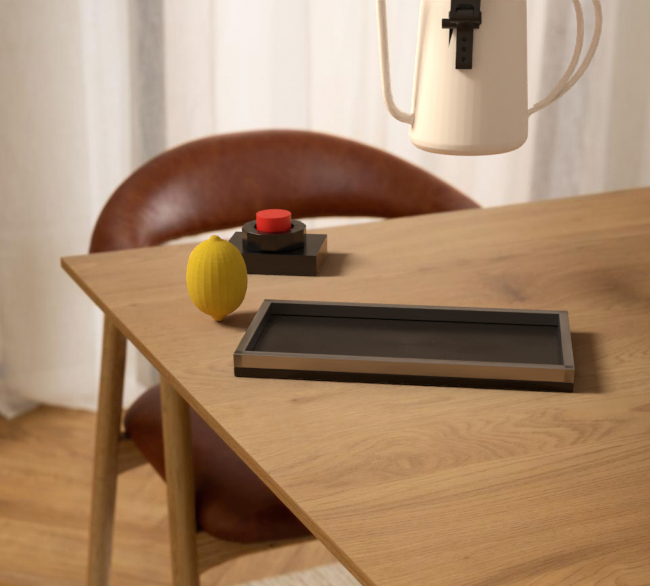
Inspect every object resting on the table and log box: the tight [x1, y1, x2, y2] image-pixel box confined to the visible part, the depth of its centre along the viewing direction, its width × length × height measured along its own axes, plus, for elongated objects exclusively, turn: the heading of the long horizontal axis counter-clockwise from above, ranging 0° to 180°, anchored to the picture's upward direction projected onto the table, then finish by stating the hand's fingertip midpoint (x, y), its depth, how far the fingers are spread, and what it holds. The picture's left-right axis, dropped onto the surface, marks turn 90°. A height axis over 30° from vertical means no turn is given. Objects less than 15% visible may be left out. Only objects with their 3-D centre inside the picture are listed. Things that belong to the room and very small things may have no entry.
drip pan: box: [232, 298, 576, 393], centre depth 101 cm, size 27×14×2 cm, turn 82°
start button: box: [255, 208, 292, 232], centre depth 122 cm, size 4×4×2 cm
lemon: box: [185, 234, 249, 322], centre depth 107 cm, size 6×6×8 cm
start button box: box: [228, 218, 328, 278], centre depth 123 cm, size 10×8×4 cm
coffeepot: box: [375, 0, 603, 157], centre depth 105 cm, size 11×25×19 cm, turn 102°
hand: (464, 98), depth 108 cm, fingers closed on coffeepot, 9 cm apart
